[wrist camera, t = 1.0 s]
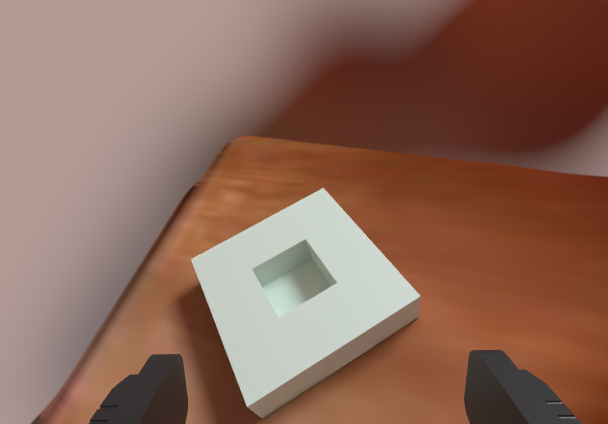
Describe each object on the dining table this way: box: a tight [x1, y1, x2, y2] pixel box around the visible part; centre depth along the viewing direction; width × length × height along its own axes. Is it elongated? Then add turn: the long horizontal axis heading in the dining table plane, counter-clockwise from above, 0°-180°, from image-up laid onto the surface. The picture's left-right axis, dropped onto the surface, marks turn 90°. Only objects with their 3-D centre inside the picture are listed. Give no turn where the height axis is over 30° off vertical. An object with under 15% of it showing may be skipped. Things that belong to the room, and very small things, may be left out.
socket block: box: [191, 188, 421, 419], centre depth 35 cm, size 16×16×4 cm
